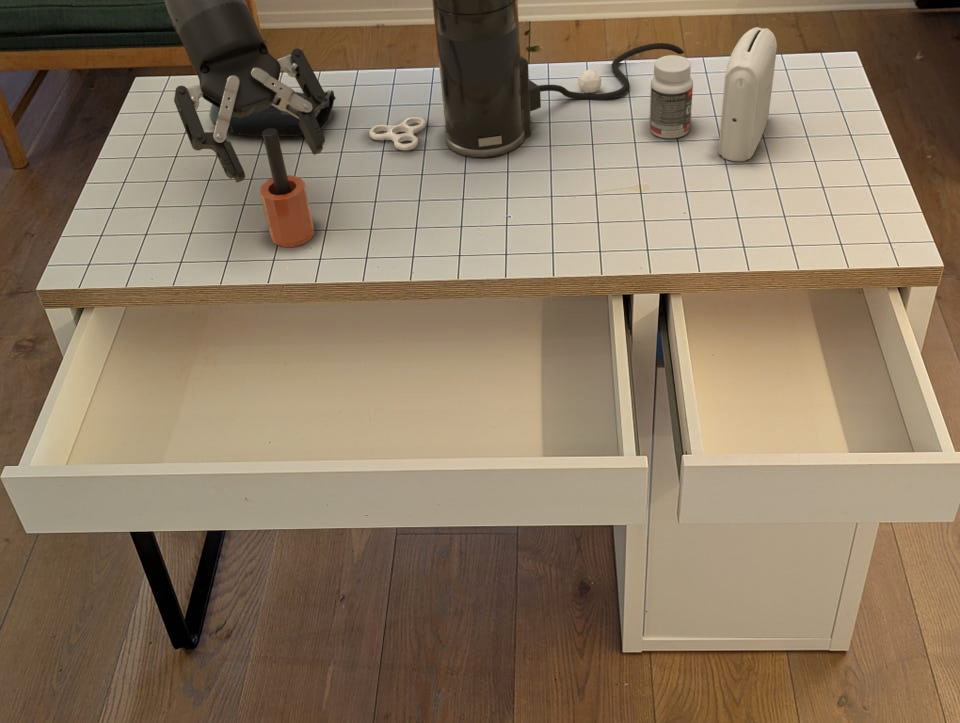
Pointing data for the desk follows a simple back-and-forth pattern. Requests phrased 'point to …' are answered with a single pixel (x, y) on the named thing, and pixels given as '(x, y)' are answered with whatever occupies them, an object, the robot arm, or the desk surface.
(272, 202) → the pen holder
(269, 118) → the electronic device
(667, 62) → the pill bottle
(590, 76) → the polyhedron
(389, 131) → the fidget spinner
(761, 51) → the photo printer
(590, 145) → the desk surface
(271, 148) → the dark grey rod
